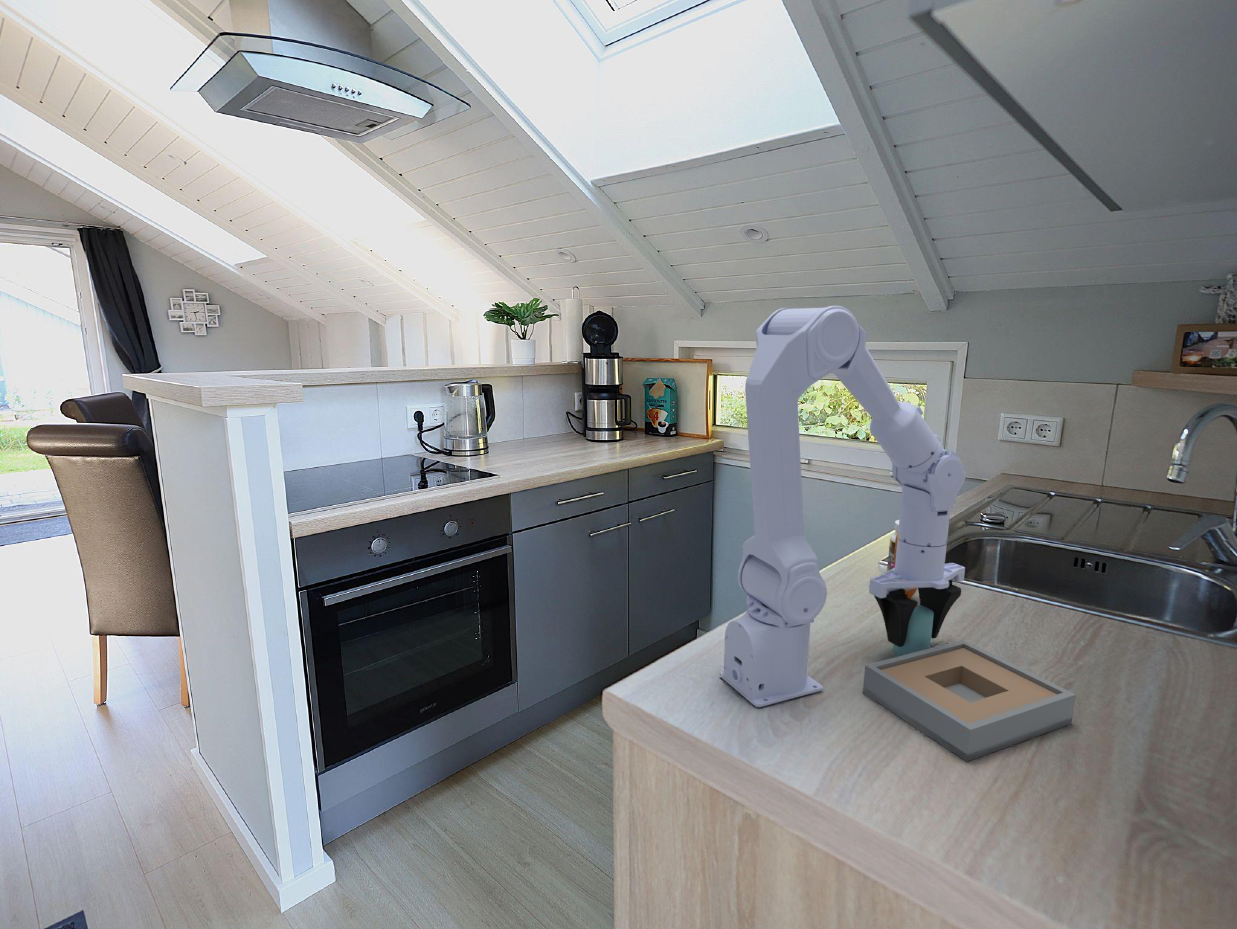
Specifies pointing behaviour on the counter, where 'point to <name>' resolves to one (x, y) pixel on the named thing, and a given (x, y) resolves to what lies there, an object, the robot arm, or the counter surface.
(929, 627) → the teal peg
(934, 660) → the bore box
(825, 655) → the counter surface
